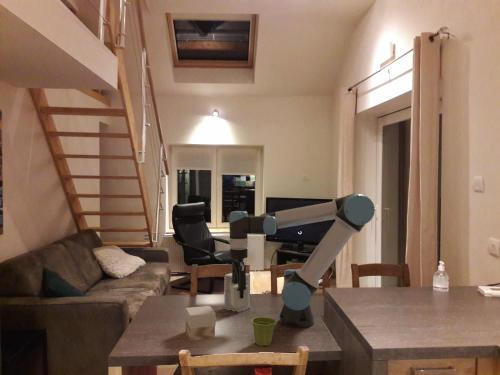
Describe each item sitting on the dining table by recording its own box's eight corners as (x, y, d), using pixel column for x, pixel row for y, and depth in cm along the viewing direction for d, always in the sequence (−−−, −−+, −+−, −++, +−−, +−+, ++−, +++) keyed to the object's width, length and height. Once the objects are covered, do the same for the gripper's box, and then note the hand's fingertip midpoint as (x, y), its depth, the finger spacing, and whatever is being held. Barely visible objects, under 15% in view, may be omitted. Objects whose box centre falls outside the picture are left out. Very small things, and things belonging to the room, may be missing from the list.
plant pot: (258, 336, 160) (258, 315, 160) (279, 341, 156) (280, 319, 156) (246, 344, 152) (246, 321, 152) (268, 350, 148) (268, 326, 147)
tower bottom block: (209, 330, 168) (209, 318, 168) (214, 339, 158) (214, 326, 158) (185, 332, 165) (185, 320, 165) (189, 341, 155) (189, 328, 155)
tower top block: (209, 317, 168) (209, 305, 168) (215, 325, 159) (215, 313, 159) (185, 320, 165) (185, 307, 165) (190, 328, 156) (190, 315, 156)
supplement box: (250, 308, 198) (251, 273, 198) (240, 313, 190) (240, 277, 190) (234, 304, 203) (235, 271, 203) (223, 309, 195) (224, 274, 195)
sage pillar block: (244, 301, 172) (244, 283, 172) (248, 305, 166) (248, 286, 166) (230, 303, 170) (230, 284, 170) (234, 307, 165) (233, 287, 165)
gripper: (224, 245, 176) (224, 298, 176) (235, 252, 158) (235, 311, 158) (241, 244, 178) (241, 296, 179) (253, 251, 160) (254, 309, 160)
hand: (238, 303), depth 168 cm, fingers closed on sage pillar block, 6 cm apart
